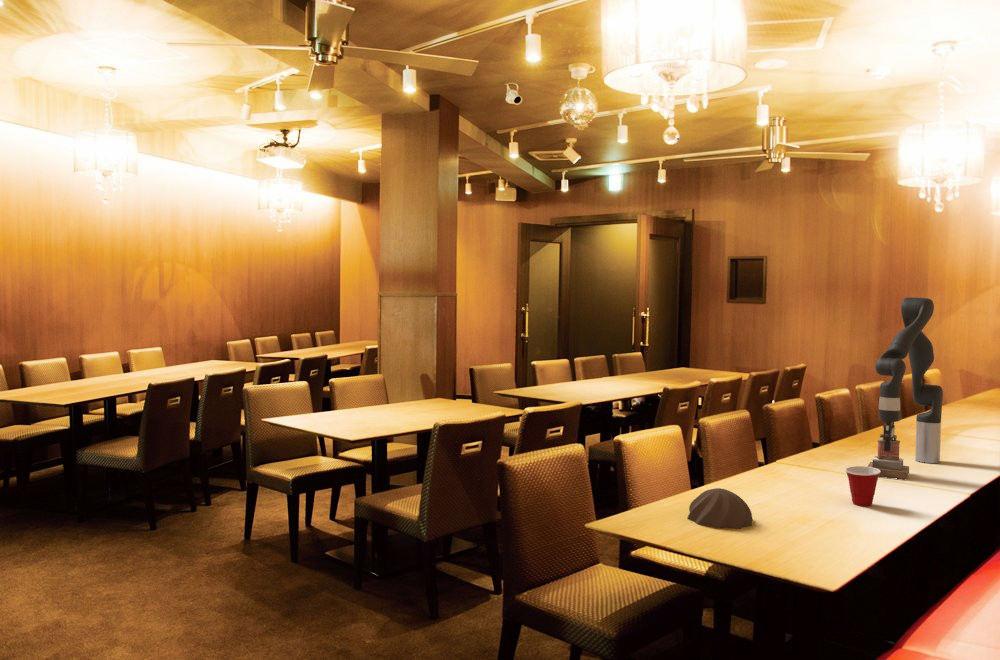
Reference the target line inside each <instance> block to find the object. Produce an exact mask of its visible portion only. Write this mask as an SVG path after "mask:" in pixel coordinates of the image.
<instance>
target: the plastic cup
mask: <svg viewBox="0 0 1000 660" xmlns="http://www.w3.org/2000/svg"><path fill="white" fill-rule="evenodd" d="M844 471H845V472H846V475H847V479H848V486H849V490H850V496H851V502H852V504H853V505H855V506H859V507H872V506H873V505H872V504H873V501H874V496H875V492H876V488H877V485H878V484H877V483H878V480H879V477H878V476H879V473H880V472H881V471H880V470H879V469H877V468H873V467H867V466H863V465H861V466H859V465H855V466H853V465H852V466H848V467H846V468H844Z"/></svg>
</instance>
